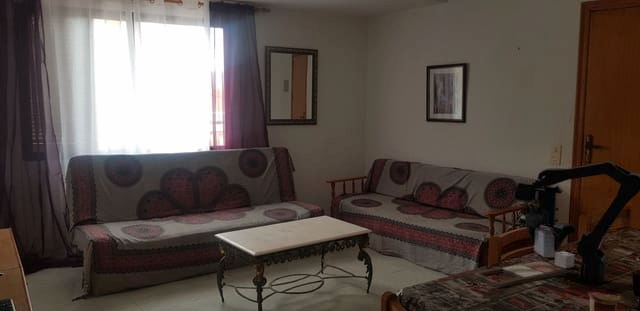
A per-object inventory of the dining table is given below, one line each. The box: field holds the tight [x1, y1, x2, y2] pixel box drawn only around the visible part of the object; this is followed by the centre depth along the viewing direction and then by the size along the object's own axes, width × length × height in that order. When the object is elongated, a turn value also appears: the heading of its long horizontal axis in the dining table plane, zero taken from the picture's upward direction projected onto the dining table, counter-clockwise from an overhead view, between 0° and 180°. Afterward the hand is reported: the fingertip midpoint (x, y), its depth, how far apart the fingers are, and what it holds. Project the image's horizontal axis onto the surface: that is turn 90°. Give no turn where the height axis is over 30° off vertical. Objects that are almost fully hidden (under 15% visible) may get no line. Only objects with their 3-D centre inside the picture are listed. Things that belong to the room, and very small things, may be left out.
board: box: [470, 260, 569, 289], centre depth 169 cm, size 12×33×1 cm, turn 116°
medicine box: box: [533, 227, 557, 258], centre depth 173 cm, size 8×4×9 cm, turn 179°
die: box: [554, 250, 575, 269], centre depth 178 cm, size 4×4×5 cm
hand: (544, 247), depth 173 cm, fingers closed on medicine box, 9 cm apart
